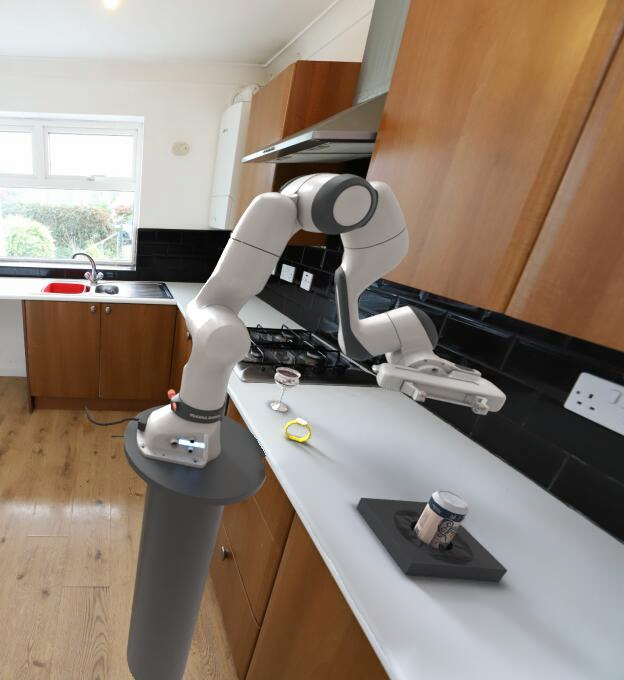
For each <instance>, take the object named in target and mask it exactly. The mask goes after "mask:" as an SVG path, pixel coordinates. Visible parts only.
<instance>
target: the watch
mask: <svg viewBox="0 0 624 680" xmlns="http://www.w3.org/2000/svg"><path fill="white" fill-rule="evenodd" d="M292 425H297V426H300V427H302V428H304V427H305V428H307V430H308V434H307V435H306V436H304V437H301V438H299V437H296V436H293V435H290V433H289V432H288V429H289V428H290V426H292ZM284 430H285V435H286V437H287V438H288V439H289V440H292V441H295V442H298V443H304V442H307V441H308V440H309V439H311V436H312V429H311V426H310V425H309V424H308V422H307V420H305V419H303V418H300V417H297V418H296V419H294V420H290V421H289V422H287V423H286V424H285V427H284Z"/></svg>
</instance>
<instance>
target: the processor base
mask: <svg viewBox="0 0 624 680" xmlns="http://www.w3.org/2000/svg"><path fill="white" fill-rule="evenodd" d="M428 502H429V501H428ZM428 502H427V501H417V500H416V501H415V500H401V499H387V498H375V497H373V498H372V497H360V498H359V501H358V503H357V504H356V505H357V506H356V510H357V511H358V513H359V514H360V515H361V517H362V518H363V519H364V522H366V524H367V525H368V526H369V528H370V529H371V530H372V532H373V533H374V535H375V536H376V537H377V538H378V540H379V541H380V543H381V544H382V546H383V547H384V548H385V550H386V551H387V552H388V553H389V555H390V556H391V558H392V559H393V560H394V562H395V563H396V564H397V566H398V567H399V568H400V570H401V571H402V573H403V574H404V575H405V576H414V577H415V576H416V577H417V576H418V577H427V578H428V577H429V578H430V577H431V578H444V579H456V580H470V581H481V582H482V581H483V582H493V583H494V582H495V583H499V582H500V581H501V580H502V579H503V578H504V576H505V575H506V573H507V572H508V569H507V568H506V567H505V566H504V565H503V563H500V561H499V560H498V559H497V558H496V557H495V556H494V555H493V554H492V553H491V552H490V551H488V549H487V548H485V546H483V545H482V543H480V541H478V539H476V538H475V536H474V535H472V533H470V531H468V530H467V529H466V528H465V527H464V526H463V525H462V524H461V525H460V526H459V528H458V530H457V531H456V533H455V535H454V536H453V538H452V540H451V541H450V543H449V544H448V546H447V548H446V549H445V550H439V549H437V548H434V547H432V546H430V545H428V544H426V543H424V542H423V541H422V540H420V539H419V538H418V537H417V536H416V535H415V534H414V533H413V530H414V528H415V526H416V524H417V522H418V520H419V519H420V517H421V515H422V513H423V511H424V509H425V507H426V506H427V504H428Z"/></svg>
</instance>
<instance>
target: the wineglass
mask: <svg viewBox="0 0 624 680" xmlns="http://www.w3.org/2000/svg"><path fill="white" fill-rule="evenodd" d="M275 370H276V372H275V374H274V377H273V380H274V382H275V383H276V385H277V386H278V387H279V388H281V392H280V393H281V394H280V396H279V397H280V398H279V402H276V401H275V402H271V403H270V405H269V406H270V408H272V409H273V410H275V411H278V412H287V411H288V406H286V405H285V404H283V403H282V401H283V397H284V395H285V391H287V390H291V389H292V390H293V389H294V388H296V387H297V386H298V385H299V383H300V377H301V376H302V375H301V373H300V372H299V371H298V370H295V369H293V368H289V367H283V366H282V367H281V366H280V367H277V368H276V369H275Z"/></svg>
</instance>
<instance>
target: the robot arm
mask: <svg viewBox="0 0 624 680" xmlns="http://www.w3.org/2000/svg"><path fill="white" fill-rule="evenodd" d="M300 230H303V231H306V232H311V233H319V234H326V235H340V239H341V242H342V245H343V251H344V254H343V259H342V262H341V264H340V266H338V268H337V269H335V272H334V277H333V278H334V280H333V281H334V297H335V304H336V314H337V315H336V316H337V328H338V329H337V330H338V331H337V332H338V333H337V341H338V346H339V348H340V350H341V352H342V353H343V354H344V356H345V357H347V358H349V359H351V360H355V361H358V362H365V361H366V360H370V359H372V358H376V357H378V356H382V355H385V358H386V361H387V362H383V363H381V364H378V365H377V364H373V365H372V366H371V369H372V371H373V372H374V373H375V374H376V382H377V384H378V386H379V387H380V388H382V389H384V390H389V391H392V392H393V391H394V392H398V393H403V394H405V395H407V396H409V397H411V398H412V399H413V401H416V402H417V401H418V402H422V403H424V402H425V401H426V399H431V400H436V401H441V402H446V403H451V404H456V405H460V406H463V407H464V406H465V407H470V408H471V409H470V410H471V411H472V412H473V413H474V414H478V415H482V416H486V415H487V414H488V412H492V413H493V412H494V413H497V412H498V411H500V410H501V409H502V407H503V406H504V405H505V402H506V400H507V395H506V394H505V393H504V392H503V391H502V390H501V389H500V388H498V387H497V386H496V385H495V384H494V383H492V382H491V381H489V380H487V379H486V378H484V377H482V373H481V372H480V371H478V370H477V369H473V368H470V367H467V366H464V365H460V364H457V363H453V362H451V361H450V360H447V359H444V358H441V357H440V356H438V355H436V354H435V353H434V351H433V350H435V349H436V347H437V345H438V341H439V336H438V335H439V334H438V331H437V328H436V325H435V324H434V322H433V320H432V319H431V318H430V317H429V316H428V314H427V313H425V311H424V310H421V309H420V308H417V307H416V306H411V305H404V306H402V307H398V308H394V309H391V310H388V311H385V312H382V313H379V314H375V315H373V316H369V317H366V318H363V319H360V318H359V316H360V315H359V303H358V300H359V298H360V296H361V294H362V293H363V292H364V291H365V290H366V289H367V288H369V287H370V286H371V285H372V284H374V283H375V282H376V281H378V280H379V279H381V278H383V277H384V276H386V275H388V274H389V273H391V272H392V271H393V270H394V269H395V268H396V267H398V266H399V265H400V264H401V263H402V261H403V260H404V259H405V257H406V255H407V253H408V252H409V249H410V236H409V231H408V230H409V229H408V226H407V222H406V219H405V215H404V212H403V209H402V207H401V205H400V203H399V200H398V199H397V196H396V194H395V193H394V190H393V188H392V187H391V186H390V185H389V184H387V183H386V182H384V181H379V180H378V181H377V180H371V181H368V180H366V179H365V178H363V177H361V176H358V175H356V174H352V173H351V174H350V173H342V174H339V173H330V172H320V173H319V172H318V173H313V174H303V175H299V176H296V177H294V178H292V179H290V180H289V181H287V182H285V184H284V185H282V186H281V187H280V188H279V190H278V191H276V192H275V191H269V192H268V191H267V192H264V193H261V194H258V195H257V196H256V197H254V199H252V201H251V202H250V204H249V205H248V207H247V208H246V210H245V211H244V213H243V214H242V215H241V217H240V218H239V221H238V222H237V224H236V226H235V228H234V229H233V232H232V234H231V235H230V238H229V239H228V242H227V244H226V246H225V248H224V250H223V251H222V254H221V256H220V258H219V260H218V262H217V264H216V266H215V268H214V270H213V271H212V273H211V275H210V277H209V278H208V279H207V281H206V282H205V284H204V285H203V287H202V288H201V290H200V291H199V293H197V295H196V296H195V298H194V299H192V300H190V302H189V303H188V304H187V307H186V309H185V315H184V317H185V326H186V328H187V330H188V332H189V334H190V337H191V340H192V349H191V353H190V356H189V358H188V361H187V363H186V364H185V365H184V367H183V369H182V376H181V384H180V390H179V392H178V393H176V391H175V389H169V390H168V391H167V397H168V399H169V400H170V403H169V404H166V405H167V406H165V407H163V408H160V409H158V410H156V411H153V412H152V413H151V414H150V413H147V412H146V413H145V414H144V415H143V416H142V417H141V419H139V418H134V417H125V418H123V419H120V420H116V421H111V422H98V421H95V420H93V418H91V416H90V412H89V409H88V407H87V406H84V407H83V409H84V411H85V413H86V417H87V419H88V421H89V422H91V423H92V424H94V425H96V426H100V427H107V426H114V425H119V424H122V423H124V422H126V421H131V420H134V421H138V427H137V429H138V431H137V446H138V449H139V450H140V452H141V453H142V455H143V456H145V457H147V458H152V459H157V460H162V461H167V462H172V463H177V464H181V465H186V466H191V467H196V468H204V467H205V466H206V464H207V463H208V462H209V461H211V460H213V459H215V458H216V457H218V456H219V454H220V452H221V445H220V424H221V422H222V419H223V416H224V415H225V411H226V402H225V399H226V395H227V390H228V386H229V382H230V378H231V376H232V373H233V371H234V369H235V367H236V365H237V364H239V363H240V362H242V361H243V360H244V359H245V358H246V357H247V356H248V354H249V352H250V350H251V345H252V339H251V336H250V334H249V330H248V328H247V326H246V324H245V322H244V321H243V320H242V319H241V318H240V317H239V316H238V315H239V313H240V312H241V311H242V309H243V308H244V306H245V305H247V303H248V302H249V301H250V300H251V299H252V298H253V297H254V296H257V295H258V294H260V293H261V292H262V291H263V290H264V288H265V287H266V284H267V283H268V280H269V278H270V277H271V275H272V273H273V271H274V269H275V268H276V266H277V264H278V262H279V260H280V258H281V257H282V255H283V253H284V251H285V248H286V246H287V244H288V242H289V241H290V239H292V237H293V236H294V235H295V234H296V233H297V232H298V231H300Z"/></svg>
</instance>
